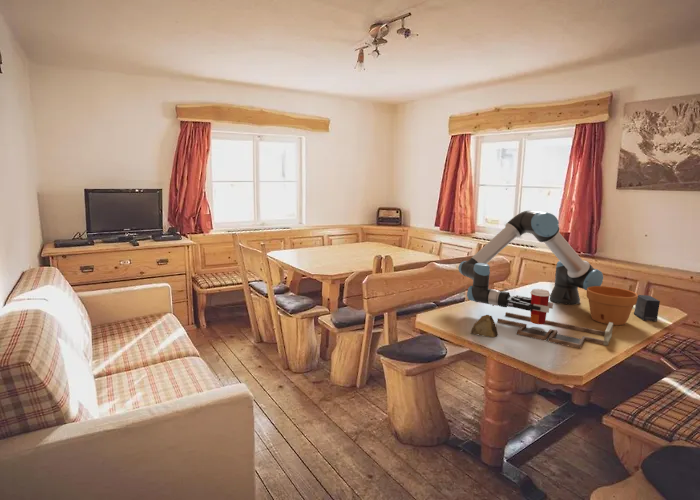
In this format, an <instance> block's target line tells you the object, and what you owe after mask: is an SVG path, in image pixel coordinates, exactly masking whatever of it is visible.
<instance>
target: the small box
mask: <svg viewBox="0 0 700 500" xmlns="http://www.w3.org/2000/svg"><path fill="white" fill-rule="evenodd" d="M660 303H661V301H660V300H659V299H657V298H654V297H653V296H651V295H644V294H638V298H637V302H636V304H635V305H634V312H633V315H635V316H636V317H637V318H639V319H641V320H642V321H648V322H658V315H659V310H660Z"/></svg>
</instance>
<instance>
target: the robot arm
mask: <svg viewBox="0 0 700 500" xmlns="http://www.w3.org/2000/svg"><path fill="white" fill-rule="evenodd" d="M524 234H531V235H532V236H534V238H535V239H536V240H537V241H538V242H539V243H544V244H545V245H546V247H548V249H549V250H550V251H551V252H552V254H553V255H555V257H556V258H557V259H558V261H557V263H556V267H555V276H554V285H553V286H554V287H553V288H552V291H551V293H550V296H549V300H550V301H548V306H543V305H537V304H531V297H529V296H521V295H513V296H511V293H510V292H509V291H505V290H499V289H493V288H489V287H490V286H489V283H490V275H491V269H490V267H491V266H490V264H488V263H489V262H490V261H491V260H493V259H494V257H495V258H496V256H497V255H498V254H499V253H501V252H502V251H503V250H504V248H506V247H507V246H508V245H509V244H511V242H513V241H514V240H515V239H516V238H520V237H521V236H522V235H524ZM458 272H459V273H460V274H461V275H462V276H464V277H466V278H469V279H471V280H472V285H470V286H469V287H468V288H467V292H466V296H467V299H468V300H469V301H472V302H475V303H480V304H486V305H491V306H492V307H495V306H497V307H498V306H499V307H502V308H508V307H509V308H515V309H520V310H523V311H529V312H530V313H531V312H532V310H536V311H541V312H547V313H549V312H550V309H553V308H554V302H555V303H557V304H563V305H578V304H580V303H581V297H580V293H579V290H578V288H579V289H582V290H585V291H587V288H588V287H592V286H602V284H603V282H604V274H603V272H602V271H601V270H600V269H597V268H594V267H593V266H592V265H591V263H590V262H589V261H587V260H583V259H582V258H581V257H580V255H579V254H578V253H577V251H575V249H574V248H573V247H572V246H571V245H570V243H569V242H568V241H567V240H566V239H565V237H564V236H563V235H562V234H561V232H560V225H559V220H558V218H557V216H556V215H554V214H553V213H551V212H547V211H537V210H531V209H530V210H524V211H522V212H519V213H518V214H516V215H515V216H514V217H512V218H511V219H510V220H508V222H507V223H506V224H505V227H503V228H502V230H500V231H499V232H498V233H497V234H496V235H495V236H494V237H493V238H492V239H490V241H488V242H487V243H486V244H485V245H484V246H483V247H481V248H480V249H479V250H478V251H477V252H476V253H475V254H474V255H473V256H472V257H470V258H469V259H468V260H464V261H461V262H460V263H459V264H458ZM547 313H546V314H547Z"/></svg>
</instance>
